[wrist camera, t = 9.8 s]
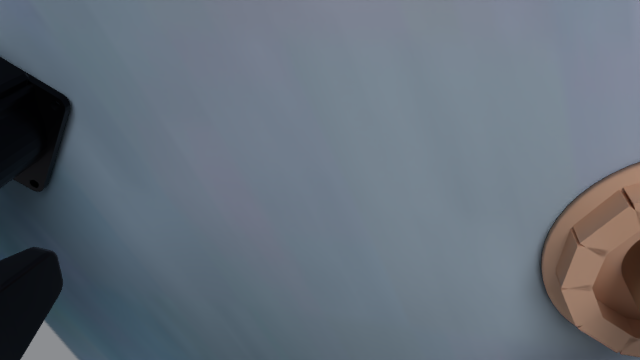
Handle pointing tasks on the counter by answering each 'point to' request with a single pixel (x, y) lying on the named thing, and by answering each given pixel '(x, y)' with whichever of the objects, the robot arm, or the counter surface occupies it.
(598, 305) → the collar dish
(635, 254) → the dowel
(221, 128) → the counter surface
